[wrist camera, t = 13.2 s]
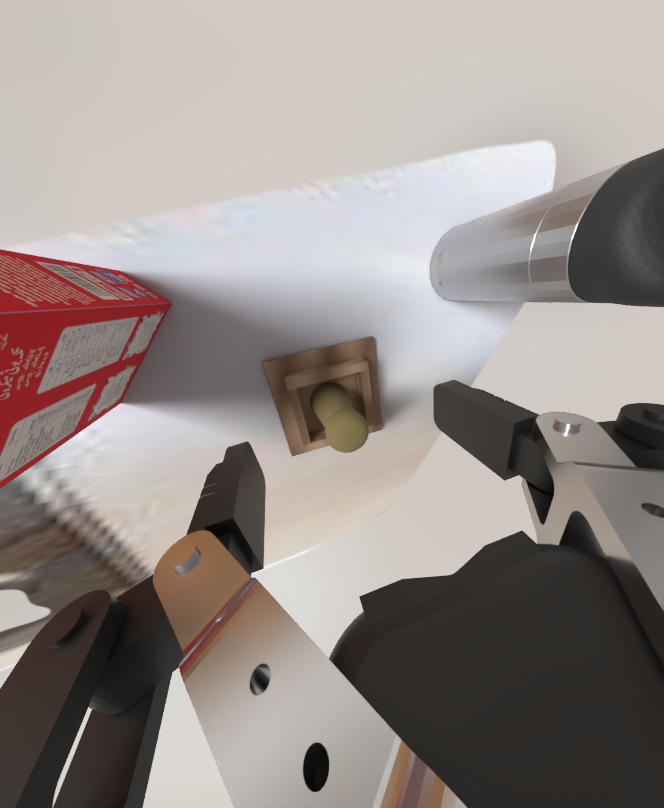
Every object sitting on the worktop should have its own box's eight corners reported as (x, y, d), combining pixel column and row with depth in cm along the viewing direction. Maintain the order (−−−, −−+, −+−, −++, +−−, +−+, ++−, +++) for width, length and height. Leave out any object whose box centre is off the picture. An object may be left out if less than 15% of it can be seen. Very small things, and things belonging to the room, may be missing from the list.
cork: (326, 425, 38) (346, 469, 28) (301, 400, 35) (313, 439, 25) (355, 401, 37) (385, 437, 28) (332, 374, 35) (357, 404, 25)
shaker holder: (371, 336, 35) (382, 340, 31) (380, 427, 42) (390, 438, 38) (262, 362, 32) (261, 369, 29) (291, 453, 39) (293, 468, 36)
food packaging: (118, 270, 25) (-1035, 65, 3) (171, 302, 27) (-252, 326, 5) (68, 382, 28) (-690, 704, 6) (120, 403, 30) (-289, 693, 8)
